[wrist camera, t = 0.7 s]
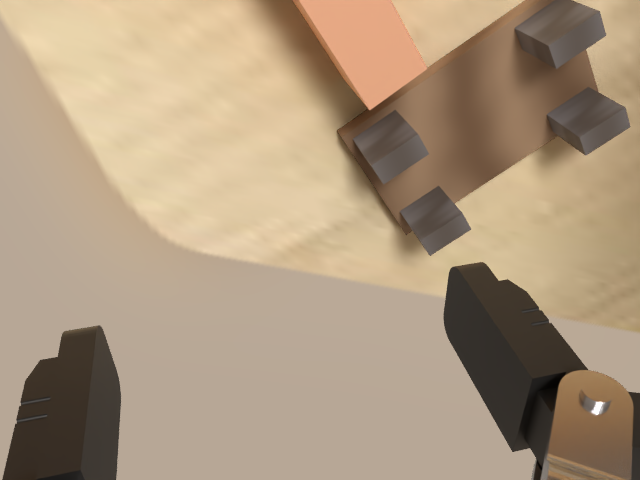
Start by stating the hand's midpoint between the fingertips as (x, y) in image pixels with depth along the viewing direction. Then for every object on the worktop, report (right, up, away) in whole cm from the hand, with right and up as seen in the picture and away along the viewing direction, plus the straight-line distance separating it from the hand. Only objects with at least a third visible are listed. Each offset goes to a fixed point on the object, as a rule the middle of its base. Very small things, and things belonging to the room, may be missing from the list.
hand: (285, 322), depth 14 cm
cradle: (+10, +10, +23) cm, 27 cm away
